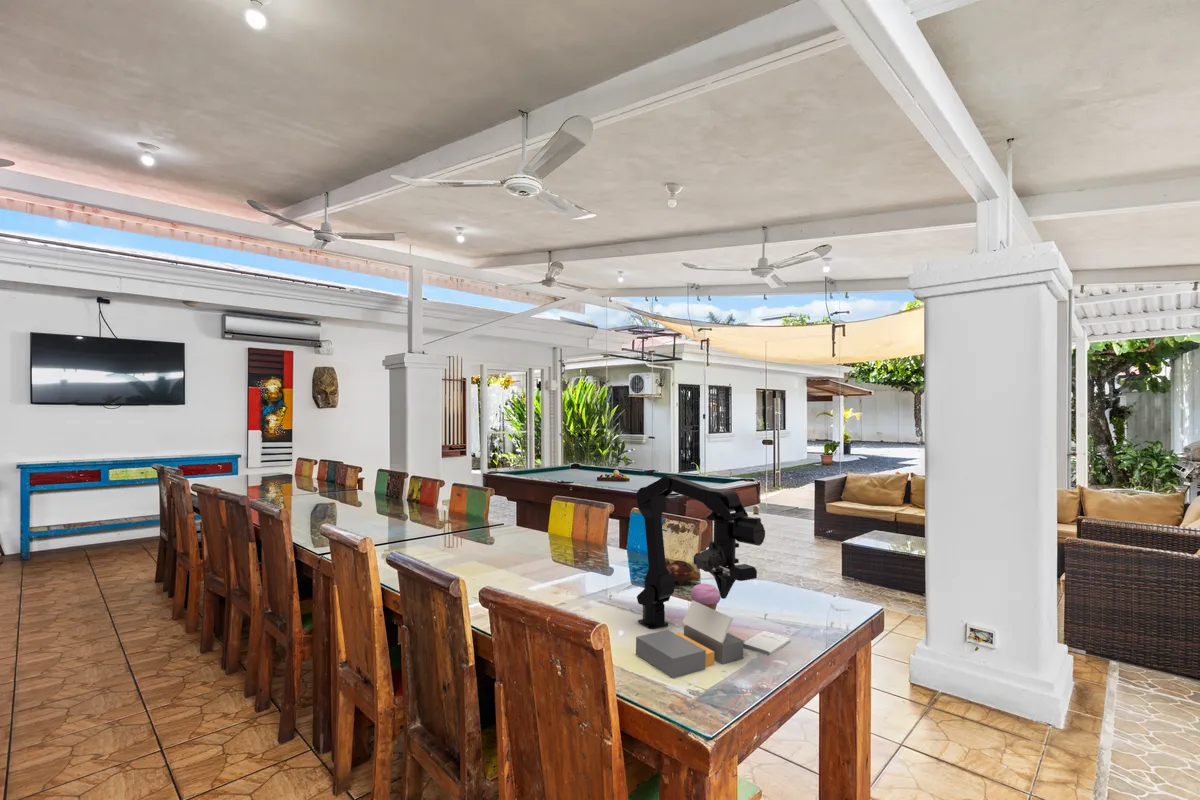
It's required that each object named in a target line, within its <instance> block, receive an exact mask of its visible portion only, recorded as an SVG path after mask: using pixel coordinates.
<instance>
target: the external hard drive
mask: <svg viewBox="0 0 1200 800" xmlns="http://www.w3.org/2000/svg"><path fill="white" fill-rule="evenodd" d="M791 640H792V639H791V638H789V637H788V636H787V637H786V636H783V635H780V634H777V633H772V632H769V631H766V630H763V631H760V632H759V633H757V634H755V635H753V636H752V637H751V638H749V639H746V640H745V641H744V644H743V649H746V650H749V651H753V652H756V653H760V654H762V653H763V655H765V654H766V656H769V655H771V656H773V655H774V654H775V653H777V652H778V651H780V650H781V649H782V647H783V648H784V647H786V646H787V645H788V643H789V644H790V643H791ZM785 645H786V646H785ZM779 649H780V650H779ZM776 651H777V652H776ZM773 653H774V654H773Z"/></svg>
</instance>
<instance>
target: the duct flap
mask: <svg viewBox="0 0 1200 800" xmlns="http://www.w3.org/2000/svg"><path fill="white" fill-rule="evenodd" d="M732 622H733V617H731V616H728V615H726V614H725V613H723V612H720V611H718V610H717V609H716V610H714V609H711V608H709V607H707V606H705V605H702V604H700V603H698V602H696V601H694V600H692V599H691V603H690V605H689V606H688V609H687V612H686V614H685V615H684V618H683V620H682V624H684V626H686V625H687V626H689V627H691V628H693V629H695V630H697V631H699V632H701V633H703V634H705V635H707V636H709V637H711V638H713V639H715V640H717V641H719V642H721V643H723V642H724V639H725V637H726V635H727V633H729V630H730V626H731V624H732Z"/></svg>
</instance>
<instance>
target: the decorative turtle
mask: <svg viewBox="0 0 1200 800" xmlns="http://www.w3.org/2000/svg"><path fill="white" fill-rule="evenodd" d="M665 563H666V568H667V569H668V571H669V572H670V573H674V581H675V582H677V583H678V585H680V586H683V585H684V584H685V582H686V581H694V582H699V581H700V578H701V573H699V572H697V571H696V570H695V568H694V566H693V565H691V564H690V563H689V562H686V561H685V560H674V561H672V562H670V560H669V559H667V558H665Z"/></svg>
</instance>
